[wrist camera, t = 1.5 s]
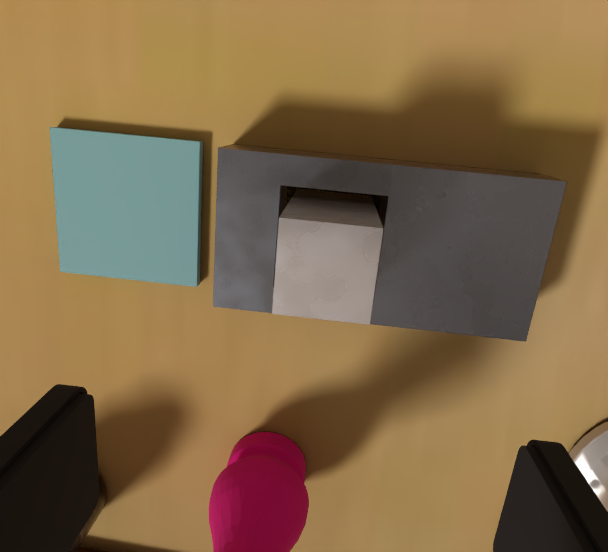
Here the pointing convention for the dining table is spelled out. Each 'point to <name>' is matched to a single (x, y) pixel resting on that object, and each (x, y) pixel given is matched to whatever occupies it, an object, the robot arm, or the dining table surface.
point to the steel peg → (327, 256)
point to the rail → (398, 236)
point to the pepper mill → (260, 496)
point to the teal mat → (128, 205)
